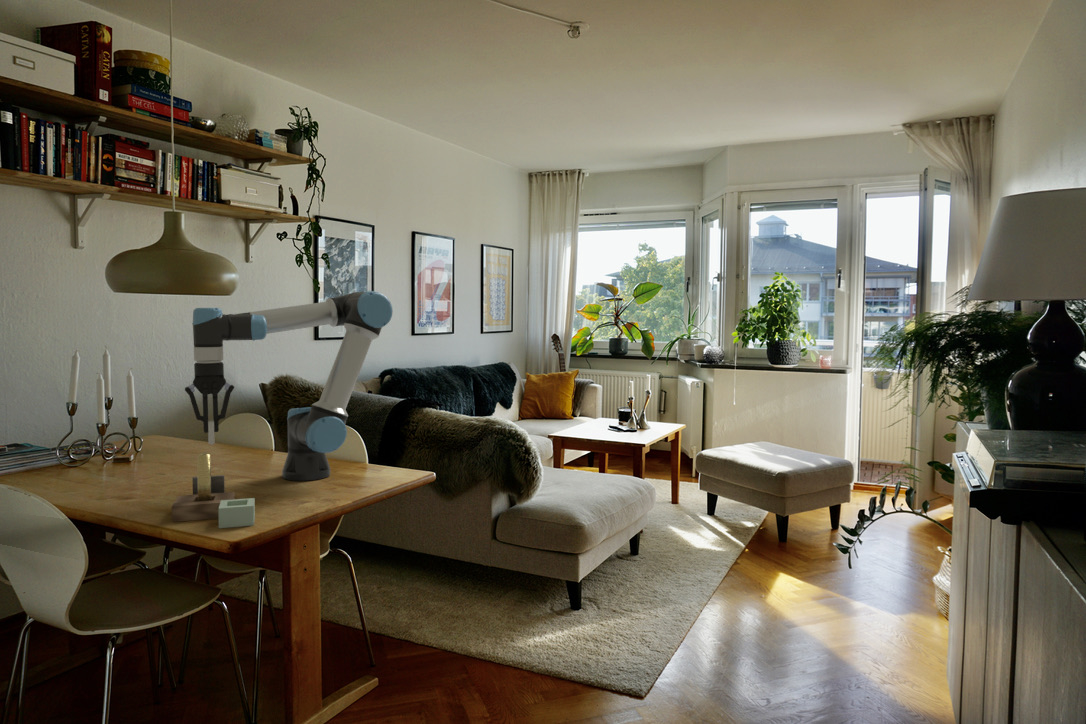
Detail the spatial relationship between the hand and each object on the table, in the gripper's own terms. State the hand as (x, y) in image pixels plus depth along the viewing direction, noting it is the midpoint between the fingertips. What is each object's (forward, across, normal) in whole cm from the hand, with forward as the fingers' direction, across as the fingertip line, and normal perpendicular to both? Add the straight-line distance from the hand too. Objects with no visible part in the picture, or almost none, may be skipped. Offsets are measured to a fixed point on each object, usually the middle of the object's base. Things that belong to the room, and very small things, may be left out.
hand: (211, 443), depth 196 cm
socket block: (+16, +3, +16) cm, 23 cm away
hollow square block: (+16, -4, +28) cm, 33 cm away
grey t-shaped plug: (+16, +2, +10) cm, 18 cm away
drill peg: (+16, +3, +16) cm, 23 cm away
